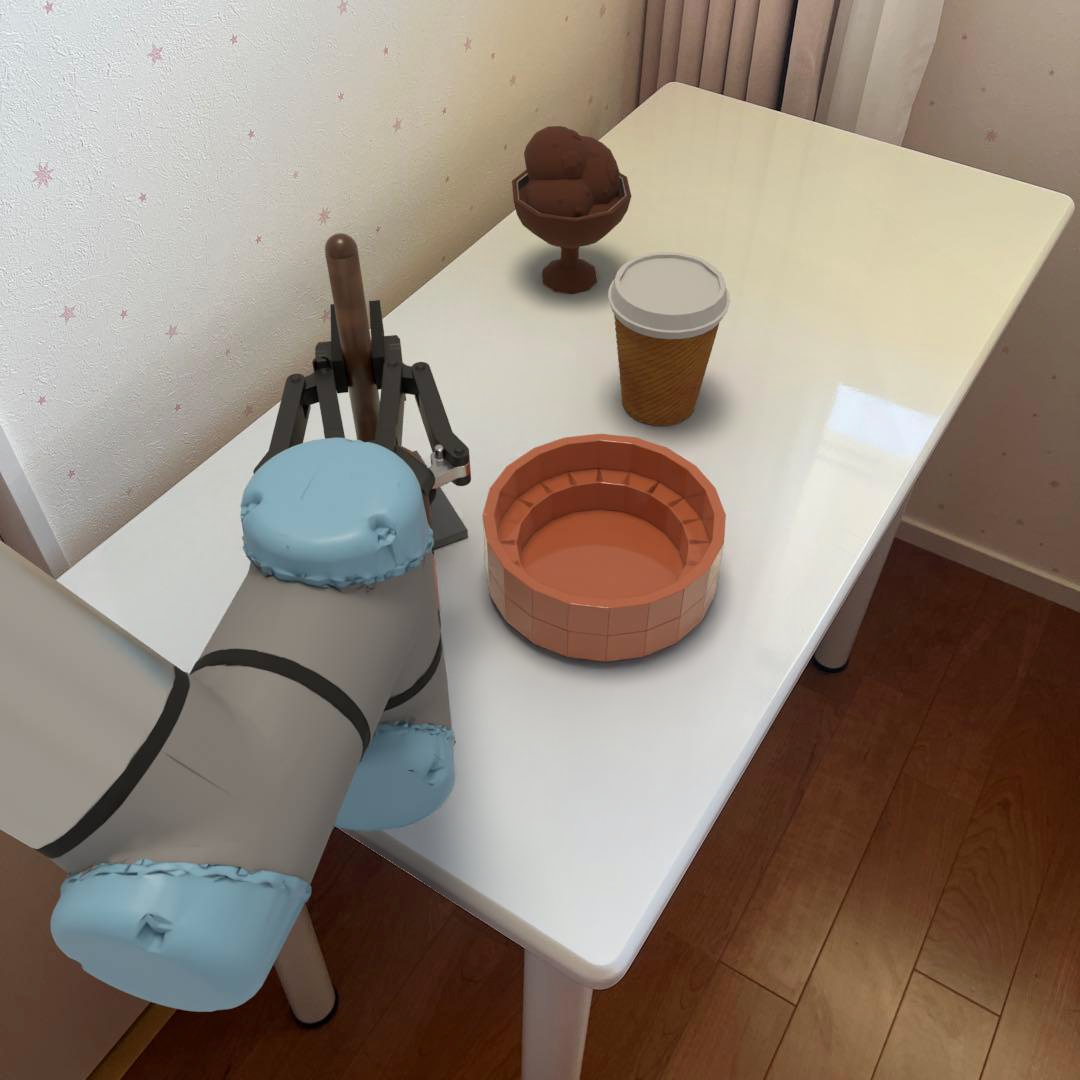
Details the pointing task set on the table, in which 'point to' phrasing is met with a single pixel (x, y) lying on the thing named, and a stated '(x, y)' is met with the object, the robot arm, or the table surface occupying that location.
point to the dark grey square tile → (444, 519)
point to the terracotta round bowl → (603, 546)
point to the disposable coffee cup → (665, 332)
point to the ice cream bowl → (569, 200)
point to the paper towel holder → (354, 333)
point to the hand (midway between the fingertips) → (357, 318)
